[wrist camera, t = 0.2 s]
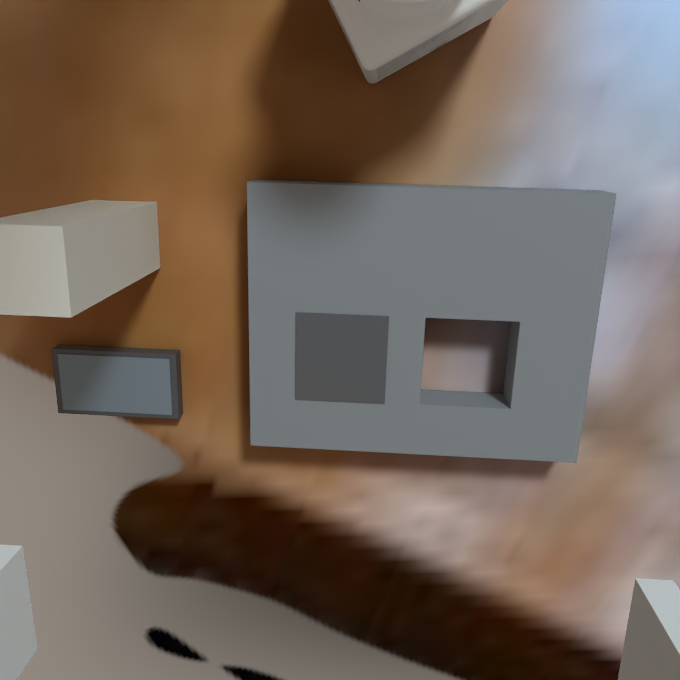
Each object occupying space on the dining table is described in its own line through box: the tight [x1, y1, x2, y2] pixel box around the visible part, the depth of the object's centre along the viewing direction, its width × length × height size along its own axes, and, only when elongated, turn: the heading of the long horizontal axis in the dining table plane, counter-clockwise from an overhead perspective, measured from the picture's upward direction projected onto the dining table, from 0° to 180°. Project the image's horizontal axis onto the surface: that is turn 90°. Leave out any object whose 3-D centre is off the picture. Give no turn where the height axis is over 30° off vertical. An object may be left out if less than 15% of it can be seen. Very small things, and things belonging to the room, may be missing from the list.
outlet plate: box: [247, 180, 616, 463], centre depth 39 cm, size 16×20×3 cm
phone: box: [52, 345, 183, 419], centre depth 42 cm, size 4×8×1 cm, turn 88°
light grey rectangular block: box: [0, 200, 160, 318], centre depth 34 cm, size 4×4×12 cm
